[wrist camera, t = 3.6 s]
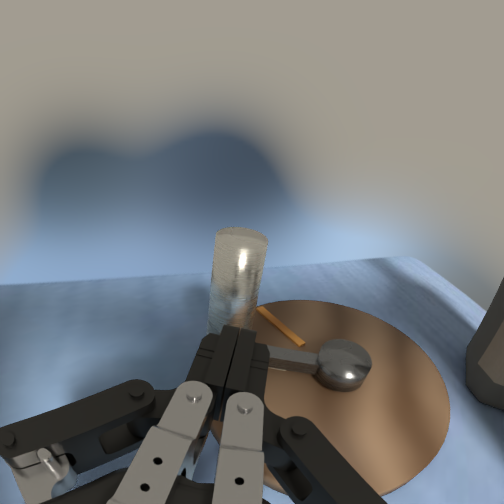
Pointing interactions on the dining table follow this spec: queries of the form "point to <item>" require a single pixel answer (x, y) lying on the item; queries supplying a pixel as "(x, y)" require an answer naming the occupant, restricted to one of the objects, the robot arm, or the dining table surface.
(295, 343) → the round wooden board
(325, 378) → the silver bent piece
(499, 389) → the liquor
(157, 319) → the dining table surface
